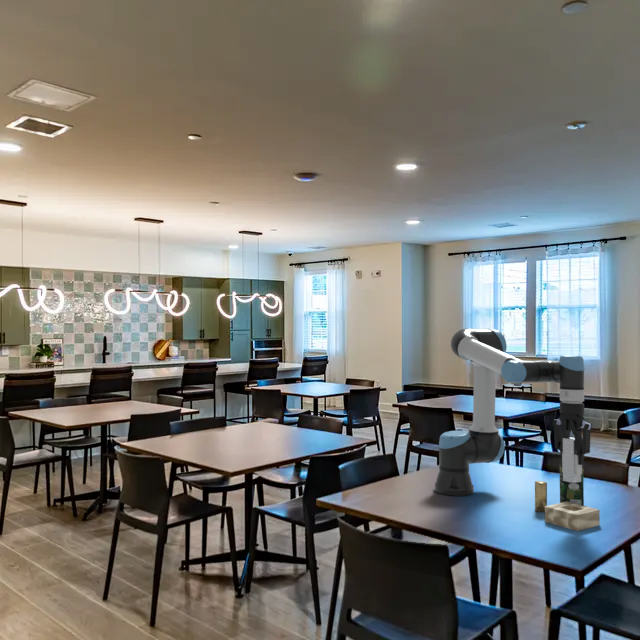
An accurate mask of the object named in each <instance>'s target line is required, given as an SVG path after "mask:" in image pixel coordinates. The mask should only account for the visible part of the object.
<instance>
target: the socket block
mask: <svg viewBox="0 0 640 640" xmlns="http://www.w3.org/2000/svg"><path fill="white" fill-rule="evenodd" d="M600 517H601V516H600V509H597V508H594V507H591V506H590V507H589V506H586V505H584V506H583V505H579V504H575V503H571V502H563V503H560V502H559V503H558V502H557V503H555V504H550V505H547V506H545V512H544V522H545V523H549V524H552V525H556V526H558V527H561V528H566V529H568V530H572V531H576V532H580V531H583V530H587V529H591V528H596V527H598V526H600Z"/></svg>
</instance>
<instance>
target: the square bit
mask: <svg viewBox="0 0 640 640" xmlns="http://www.w3.org/2000/svg"><path fill="white" fill-rule="evenodd" d="M576 453H577V450H576V444H575V439H574V437H572V436H569V438H563V481H567V482H572V483H576V482H581V475H575V455H576Z"/></svg>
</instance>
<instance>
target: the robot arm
mask: <svg viewBox="0 0 640 640" xmlns="http://www.w3.org/2000/svg"><path fill="white" fill-rule="evenodd" d="M450 348H451V351H452V353H453V354H454V355H456V356H457V357H458V358H459V359H460V358H461V359H462V360H464V361H469V360H470V363H471V364H472V365H473V401H472V402H473V403H472V405H473V407H472V409H473V410H472V411H473V412H472V425H470V427H469V428H468V431H467V430H461V429H460V430H450V431H445V432H443V433H442V434H441V435H440V436H439V442H438V447H439V450H438V451H439V454H438V455H439V458H438V459H439V460H438V463H439V466H438V468H439V469H438V470H439V471H438V473H437V477H436V482H435V483H434V491H435V493H438V494H442V495H444V496H445V495H448V496H456V497H457V496H458V497H461V496H471V495H473V494H474V490H475V489H474V484H473V483H472V478H471V474H470V464H484V463H486V464H489V463H494V462H497V461H499V460H500V459H501V458H502V457H503V455H504V451H505V447H506V446H505V445H506V444H505V440H504V437H503V436H502V434H500V433H499V429H498V428H497V426H496V425H495V424H496V386H497V385H496V382H497V381H496V379H497V374H499V375H501V377H502V378H503V380H504V381H505V382H506V383H511V384H522V383H523V384H527V383H528V384H529V383H530V384H531V383H552V384H553V383H554V384H555V383H557V384H559V401H560V403H559V413H560V415H559V418H557V419H552V424H553V434H554V436H553V437H554V449H555V450H558V451H559V452H560V455H559V457H560V458H559V461H560V460H561V461H562V472H563V438H569V437H571V436H570V435H571V432H572V435H573V438H574V439H575V444H576V450H577V453H576V455H575V475H581V474H582V465H583V466H584V464H585V455H587V454H590V452H591V431H592V428H593V423H590V422H589V423H588V422H587V421H586V420H585V418H584V414H585V404H584V403H583V402H585V362H584V358H583V356H581V355H560V357H559V360H549V359H541V360H523V359H520V358H517V357H516V356H513V355H510V354H509V353H506V352H507V348H508V347H507V341H506V338H505V335H503V333H502V332H501V331H500V330H497V329H493V328H462V329H460V330H458V331H456V332H454V334H453V336H452V337H451V340H450Z"/></svg>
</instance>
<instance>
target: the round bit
mask: <svg viewBox="0 0 640 640" xmlns="http://www.w3.org/2000/svg"><path fill="white" fill-rule="evenodd" d="M545 506H548V482H546V481H542V480H537V481H534V511H535V512H537V513H545Z"/></svg>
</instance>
